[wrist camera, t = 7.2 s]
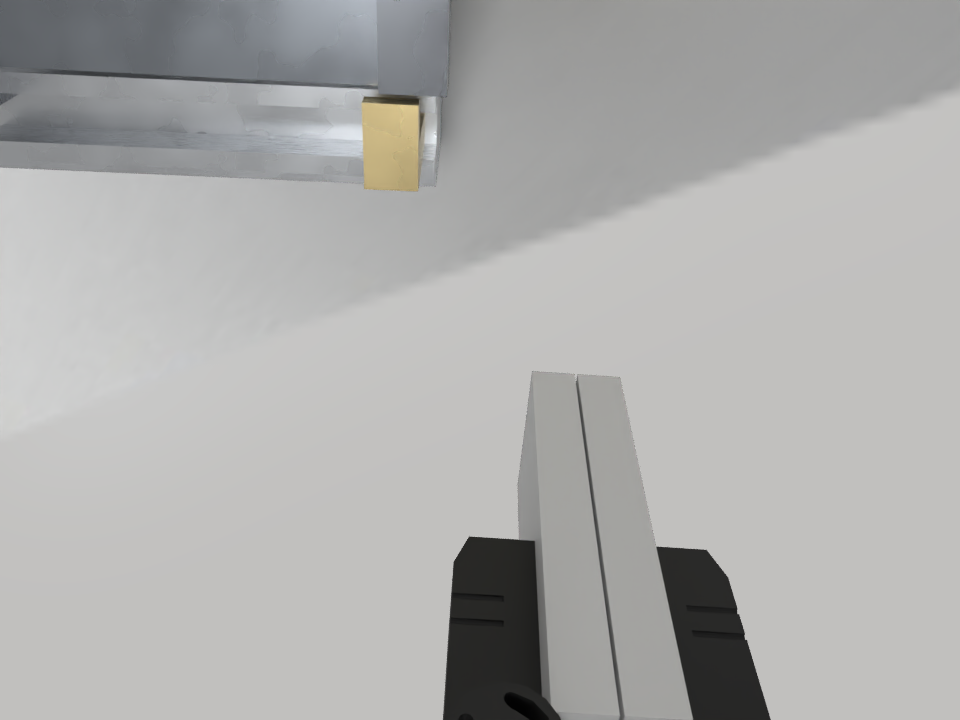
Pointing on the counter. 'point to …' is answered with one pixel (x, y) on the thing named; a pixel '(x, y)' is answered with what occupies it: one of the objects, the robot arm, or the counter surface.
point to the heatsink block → (217, 128)
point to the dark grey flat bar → (238, 40)
